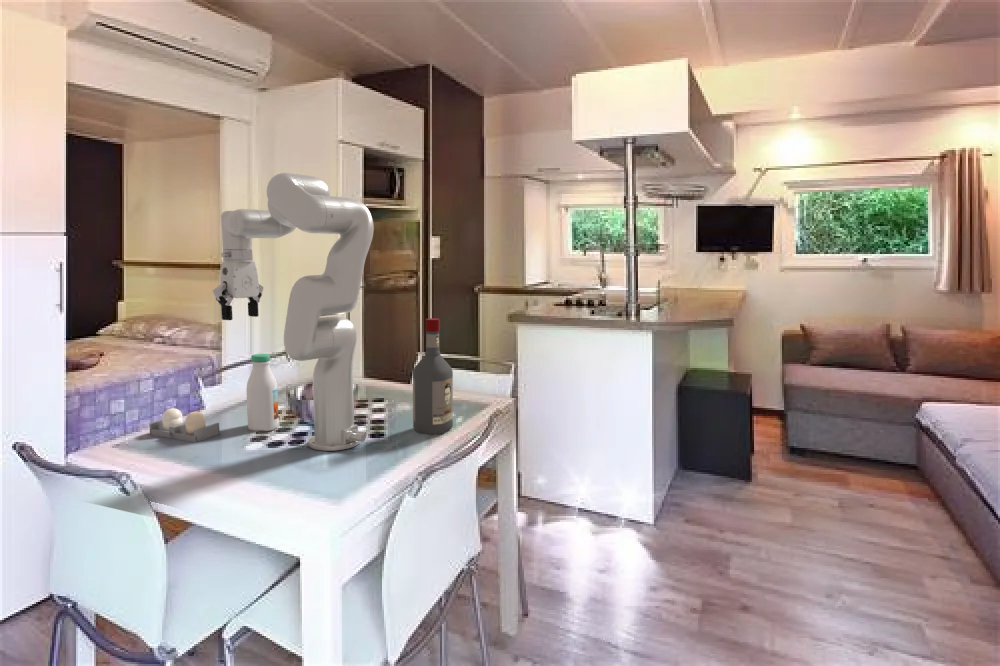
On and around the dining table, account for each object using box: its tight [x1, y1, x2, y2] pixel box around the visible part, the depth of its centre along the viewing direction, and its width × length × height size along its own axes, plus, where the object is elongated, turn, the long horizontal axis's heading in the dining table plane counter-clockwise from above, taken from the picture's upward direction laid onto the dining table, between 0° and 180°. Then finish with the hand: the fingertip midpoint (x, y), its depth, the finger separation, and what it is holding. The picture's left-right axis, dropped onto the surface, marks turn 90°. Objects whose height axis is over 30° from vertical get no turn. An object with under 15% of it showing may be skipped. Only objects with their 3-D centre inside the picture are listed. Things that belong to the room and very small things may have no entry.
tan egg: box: [184, 410, 207, 436], centre depth 153 cm, size 5×5×6 cm
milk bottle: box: [246, 353, 280, 432], centre depth 162 cm, size 8×8×20 cm
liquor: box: [412, 317, 454, 436], centre depth 162 cm, size 9×9×30 cm
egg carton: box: [148, 419, 220, 443], centre depth 155 cm, size 15×7×4 cm, turn 69°
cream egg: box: [161, 407, 184, 432], centre depth 156 cm, size 5×5×6 cm
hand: (240, 318), depth 170 cm, fingers open, 9 cm apart
